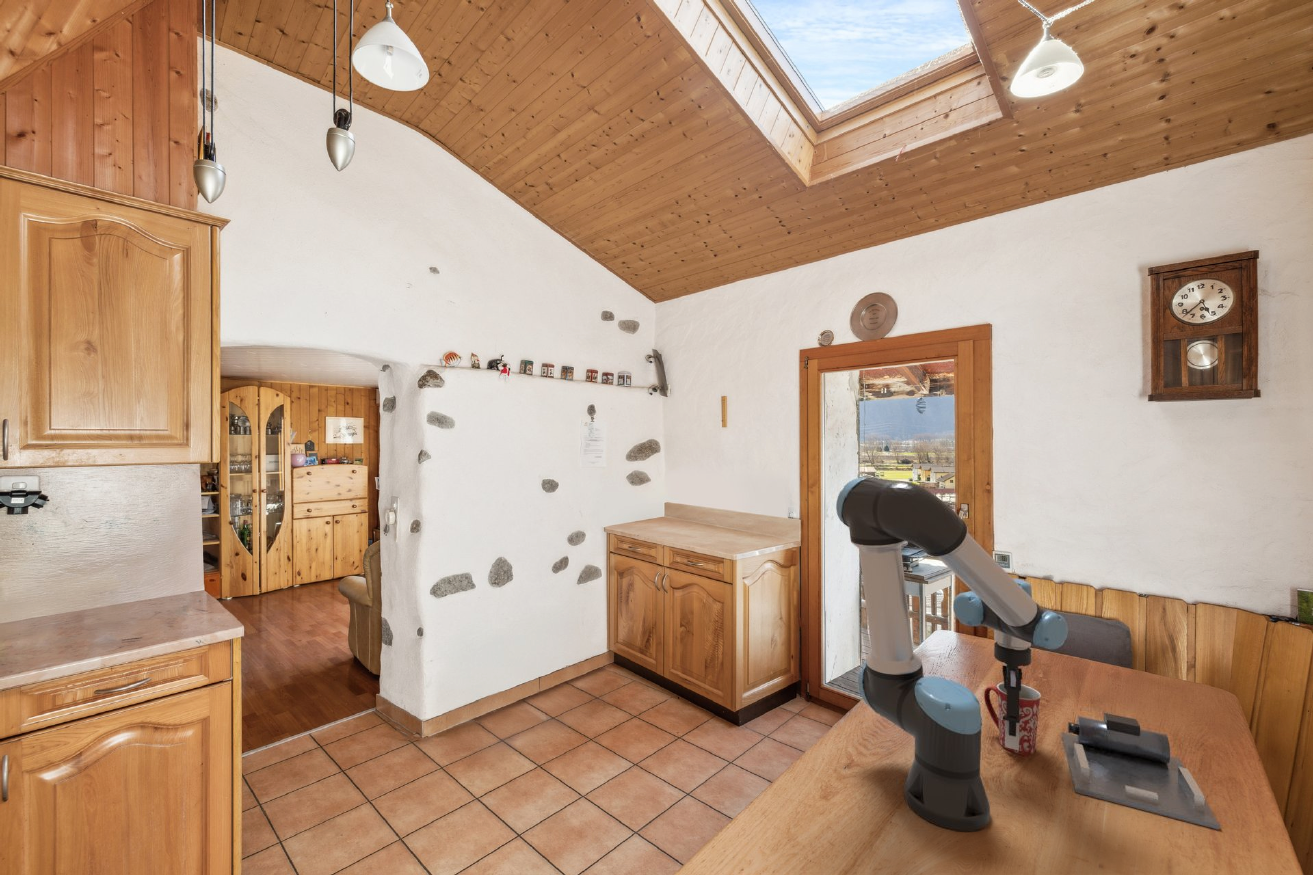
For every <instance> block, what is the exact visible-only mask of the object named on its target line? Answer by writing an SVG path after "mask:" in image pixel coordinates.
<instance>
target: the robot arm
mask: <svg viewBox="0 0 1313 875" xmlns="http://www.w3.org/2000/svg"><path fill="white" fill-rule="evenodd" d="M835 509H836V515H837V517H838V519H839V521H841V522H842V524H844V526H846V527H847V528H848V531H849V538H850V543H851V544H852V545H854V546H855V547H857V549H858V552H859V560H860V568H861V569H860V570H861V575H862V576H861V577H862V585H863V592H864V600H865V601H864V602H865V608H866V609H865V610H866V618H867V625H868V633H869V641H870V642H869V644H870V649H871V650H870V653H868V654H867V655H866V657H865V661H864V663H863V664H862V666H861V669H862V670H861V671H859V672H858V679H857V684H858V687H857V688H858V690H859V694H860V696H861V698H862V700H863V702H865V704H867V706H868V707H870V709H872V710H873V711H874V712H875V713H876V714H878V715H880V716H881V717H883V718H885V719H886V720H888V721H889V722H891V723H892V724H894V725H895V726H897V727H899V728H900V729H902V730H903V731H904V732H905V733H907V734H909V735H910V736H912V737H913V738H914V759H913V762H912V764H911V766H910V770H909V771H908V773H907V777H906V779H905V783H904V799H905V802H906V804H907V805H908V807H909V808H910V809H911V810H912V811H913V812H914V813H915V814H916V815H918V816H920V817H921V818H922V819H924V820H926V821H928V822H930V823H932V824H934V825H936V826H939V827H941V828H944V829H948V830H952V831H959V832H974V831H979V830H982V829H984V828H985V827H987V825H989V823H990V821H991V807H990V802H989V799H988V796H987V793H986V790H985V787H984V783H983V779H982V777H981V755H982V754H981V749H982V748H981V747H982V726H983V723H982V722H983V717H982V713H981V704H980V700H979V699H978V698H977V696H976V695H975V693H974V692H972V691H971V690H970V689H969V688H967V687H966V686H964V685H962V684H961V683H959V682H958V681H954V680H952V679H949V680H948V679H946V678H945V677H941V676H936V675H935V676H933V675H929V676H928V675H927V676H924V668H923V667H924V666H923V661H922V658H921V657H920V656H919V655H918V654H916V653H915V652H914V648H913V647H914V645H913V640H912V639H913V638H912V630H911V622H910V614H909V606H908V604H909V603H908V595H907V589H906V587H907V586H906V580H905V579H906V578H905V570H904V564H903V554H902V546H903V545H904V544H905V543H906V542H908V543H911V544H913V545H915V546H917V547H918V548H920V549H921V550H923V552H924V553H925V554H926V555H927V556H930V557H932V558H938V559H939V560H940V561H941V562H942V563H943V564H944V565H945V566H946V567H947V568H948V569H949V570H950V571H951V572H952V573H954V574H955V576H956V577H957V578H959V580H960V581H962V582H963V583H964V584H965V585H966V586H967V587H968V588H969V589H970V590H969V591H967V592H966V591H965V592H961V593H958V594H956V596H955V597H954V599H953V603H952V604H953V605H952V606H953V607H952V608H953V613H954V615H955V617H956V619H957V620H958V621H959V622H960V623H961V624H963V625H965V626H968V627H979V626H983V627H986V628H990V629H991V630H993V631H994V633H993V636H994V637H993V639H994V641H995V642H994V645H993V646H994V650H993V656H994V658H995V659H996V660H997V662H1001V663H1004V665H1003V664H1002V672H1001V673H1002V677H1003V680H1002V681H1003V683H1004V688H1005V689H1006V694H1007V695H1006V717H1003V720H1005V747H1007V748H1011V749H1015V750H1019V723H1020V719H1019V691H1021V685H1022V680H1023V672H1022V670H1023V669H1022V668H1021V667H1028V666H1029V665H1031V663H1032V649H1031V648H1030V647H1031V646H1032V645H1034V646H1036V647H1042V648H1045V649H1048V650H1056V649H1059V648H1060V647H1062V646H1063V645H1064V643H1065V641H1066V640H1067V638H1068V633H1069V628H1068V627H1069V626H1068V623H1067V621H1066V618H1064V617H1063V616H1062V615H1060V614H1059V613H1056V612H1053V611H1052V610H1049V609H1048V610H1047V609H1044V608H1042V607H1041V605H1039V603H1037V602H1036V601H1035V599H1033V595H1032V594H1033V592H1032V590H1033V589H1032V584H1030V583H1029V582H1028V581H1026V580H1023V579H1019V578H1013V577H1012V576H1011V575H1009V573H1008V572H1006V570H1005V569H1004V568H1003V567H1002V566H1001V565H1000V564H999V563H998V562H997V561H996V560H995V559H994V558H993V557H992V555H990V554H989V553H988V552H987V551H986V549H985V548H983V547H982V546H981V545H980V544H979V542H977V541H976V540H975V539H974V538H973V537H972V535H971V534H970V533H969V528H968V525H967V523H966V522H965V521H964V520H963V519H962V518H961V517H960V515H959V514H958V513H957V512H955V511H954V510H953V509H952V507H950V506H949V505H948V504H946V502H944V501H943V500H942V499H941V498H940V497H938V496H937V495H936V494H934V493H933V492H931V491H930V490H928V489H926V488H925V487H923V486H921V485H919V484H916V483H914V482H910V481H905V480H892V479H885V478H878V477H874V476H871V477H856V478H854V479H852V480H850V481H848V482H847V483H846V484H845V485H844V486H843V488H842V489H841V490H840V492H839V494H838V496H837V498H836V506H835ZM1019 667H1020V668H1019Z"/></svg>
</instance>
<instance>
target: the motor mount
mask: <svg viewBox="0 0 1313 875" xmlns="http://www.w3.org/2000/svg"><path fill="white" fill-rule="evenodd" d="M1076 719H1077V721H1076V723H1073V722H1070V721H1068V722H1067V733H1065V732H1061V736H1060V737H1061V741H1062V744H1063V747H1064V748H1063V749H1064V752H1065V757H1066V760H1067V764H1068V769H1069V772H1070V777H1071V779H1072V784H1073V788H1074V792H1075V793H1076V794H1080V795H1083V796H1087V797H1091V798H1095V799H1099V800H1103V801H1107V802H1111V803H1113V804H1118V805H1121V806H1126V807H1129V808H1133V809H1137V810H1141V811H1144V812H1148V813H1153V814H1157V815H1159V816H1163V817H1167V818H1171V819H1175V820H1177V821H1178V820H1179V821H1183V822H1187V823H1191V824H1195V825H1198V826H1203V827H1205V828H1209V829H1213V830H1217V831H1220V824H1219V822H1218V820H1217V818H1216V817H1215V815H1214V814H1213V812H1212V810H1211V809H1210V807H1209V805H1208V803H1207V802H1206V799H1205V796H1204V795H1205V794H1204V793H1203V792H1202V789H1200V787H1199V785H1198V784H1197V782H1196V780H1195V779H1194V777H1193V775H1192V774H1191V772H1190V770H1189V769H1188V768H1186V767H1185V766H1184V764H1183V762H1182V760H1181V759H1180V758H1178V757H1173V756H1171V747H1170V741H1169V738H1168V735H1167V734H1166V733H1160V732H1156V731H1151V730H1147V729H1142V728H1141V725H1140V724H1139V721H1138V720H1137V718H1132V717H1127V716H1122V715H1116V714H1112V713H1107V712H1106V713H1105V712H1103V720H1098V719H1094V718H1088V717H1084V716H1079V715H1078V716H1077V718H1076Z"/></svg>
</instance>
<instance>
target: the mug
mask: <svg viewBox="0 0 1313 875" xmlns="http://www.w3.org/2000/svg"><path fill="white" fill-rule="evenodd" d="M991 691H993V692H995V694H996V695H997V705H998V708H997V710H998V711H997V712H998V715H997V713H996V710H995V708H994V707H993V704H992V701H991ZM1006 695H1007V694H1006V689H1005V688H1004V682H1000V683H998V684H997V685H996V686H995V685H991V686H988V687H986V688H985V690H984V693H983V698H984V703H985V706H986V709H987V712H988V713H989V715H990V717H991V719H992V721H993V722H994V725H995V726H996V728H997V730H998V742H999V745H1000V746H1001V747H1003V748H1004V749H1006V750H1007V751H1009V752H1011V753H1012V752H1013V753H1014V754H1019V755H1027V756H1028V755H1033V754H1035V752H1036V746H1037V745H1036V744H1037V743H1036V742H1037V734H1038V725H1039V723H1038V722H1039V714H1040V713H1039V711H1040V701H1041V698H1042V694H1041V692H1039V691H1038V690H1036V689H1034V688H1033V687H1030V686H1028V685H1025V684H1021V691H1019V719H1020V723H1019V750H1015V749H1011V748H1007V747H1005V720H1003V717H1006Z"/></svg>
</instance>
